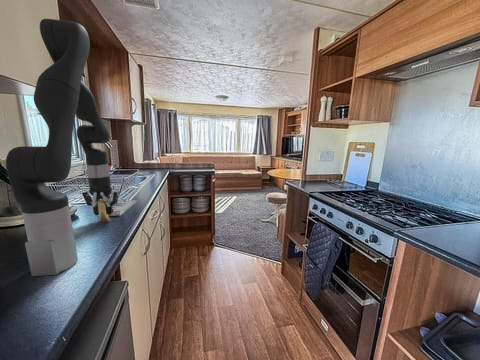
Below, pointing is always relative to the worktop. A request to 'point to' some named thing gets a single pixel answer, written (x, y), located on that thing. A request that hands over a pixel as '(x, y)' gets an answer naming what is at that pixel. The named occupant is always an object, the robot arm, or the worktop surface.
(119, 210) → the grey flat block
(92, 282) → the worktop surface
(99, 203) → the pin
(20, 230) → the worktop surface
